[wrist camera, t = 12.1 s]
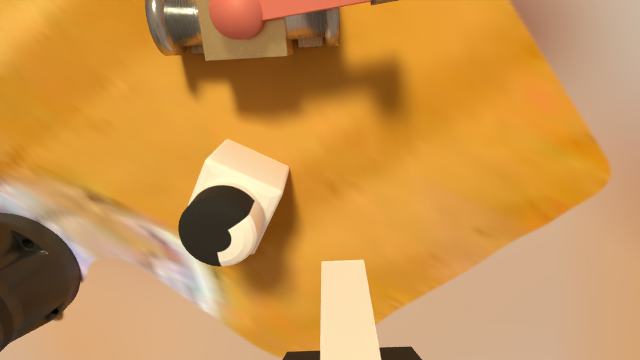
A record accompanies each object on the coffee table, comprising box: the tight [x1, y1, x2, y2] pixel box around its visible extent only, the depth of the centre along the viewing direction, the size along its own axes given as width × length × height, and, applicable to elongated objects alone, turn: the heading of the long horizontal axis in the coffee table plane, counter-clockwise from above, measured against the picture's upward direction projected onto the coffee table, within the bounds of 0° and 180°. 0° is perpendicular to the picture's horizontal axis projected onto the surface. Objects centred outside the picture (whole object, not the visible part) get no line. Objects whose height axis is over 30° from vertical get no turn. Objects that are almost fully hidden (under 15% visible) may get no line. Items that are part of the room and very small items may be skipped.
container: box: [179, 139, 289, 266], centre depth 37 cm, size 8×8×13 cm
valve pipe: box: [145, 0, 339, 61], centre depth 34 cm, size 16×7×6 cm, turn 93°
